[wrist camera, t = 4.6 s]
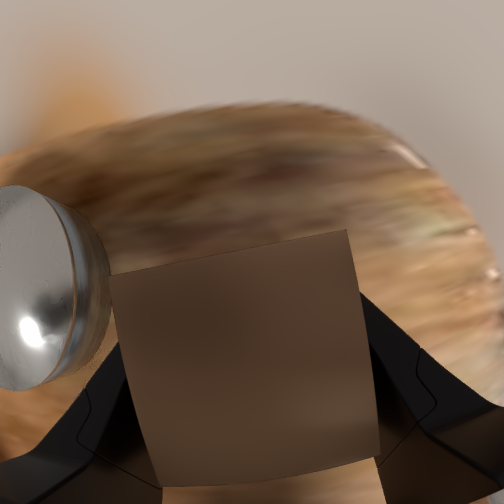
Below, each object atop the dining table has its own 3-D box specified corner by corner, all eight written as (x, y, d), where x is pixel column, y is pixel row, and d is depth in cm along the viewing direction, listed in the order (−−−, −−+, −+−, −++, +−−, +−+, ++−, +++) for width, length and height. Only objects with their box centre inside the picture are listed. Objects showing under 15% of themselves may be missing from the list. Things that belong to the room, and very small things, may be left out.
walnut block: (316, 364, 16) (380, 454, 6) (220, 381, 16) (160, 486, 6) (299, 267, 16) (346, 229, 6) (201, 286, 16) (108, 276, 6)
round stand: (128, 373, 16) (94, 392, 12) (3, 376, 16) (-36, 386, 12) (102, 182, 17) (67, 157, 13) (-14, 225, 18) (-51, 214, 14)
